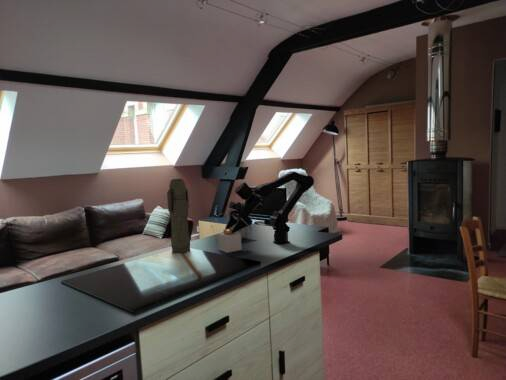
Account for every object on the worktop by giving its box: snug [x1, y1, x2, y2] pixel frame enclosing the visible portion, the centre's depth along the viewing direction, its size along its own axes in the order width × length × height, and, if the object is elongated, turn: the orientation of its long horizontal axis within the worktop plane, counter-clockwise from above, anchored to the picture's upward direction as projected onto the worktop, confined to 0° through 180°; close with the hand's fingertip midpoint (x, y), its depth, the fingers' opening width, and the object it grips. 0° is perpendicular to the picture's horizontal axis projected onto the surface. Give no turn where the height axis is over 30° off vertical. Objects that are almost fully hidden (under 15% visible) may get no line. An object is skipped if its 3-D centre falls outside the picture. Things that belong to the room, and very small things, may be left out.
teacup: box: [229, 224, 253, 240], centre depth 210 cm, size 14×11×8 cm
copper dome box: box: [217, 232, 242, 254], centre depth 187 cm, size 8×10×8 cm
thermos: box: [166, 178, 191, 254], centre depth 185 cm, size 9×12×35 cm
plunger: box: [222, 228, 235, 234], centre depth 186 cm, size 6×6×7 cm
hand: (229, 230), depth 185 cm, fingers open, 9 cm apart
